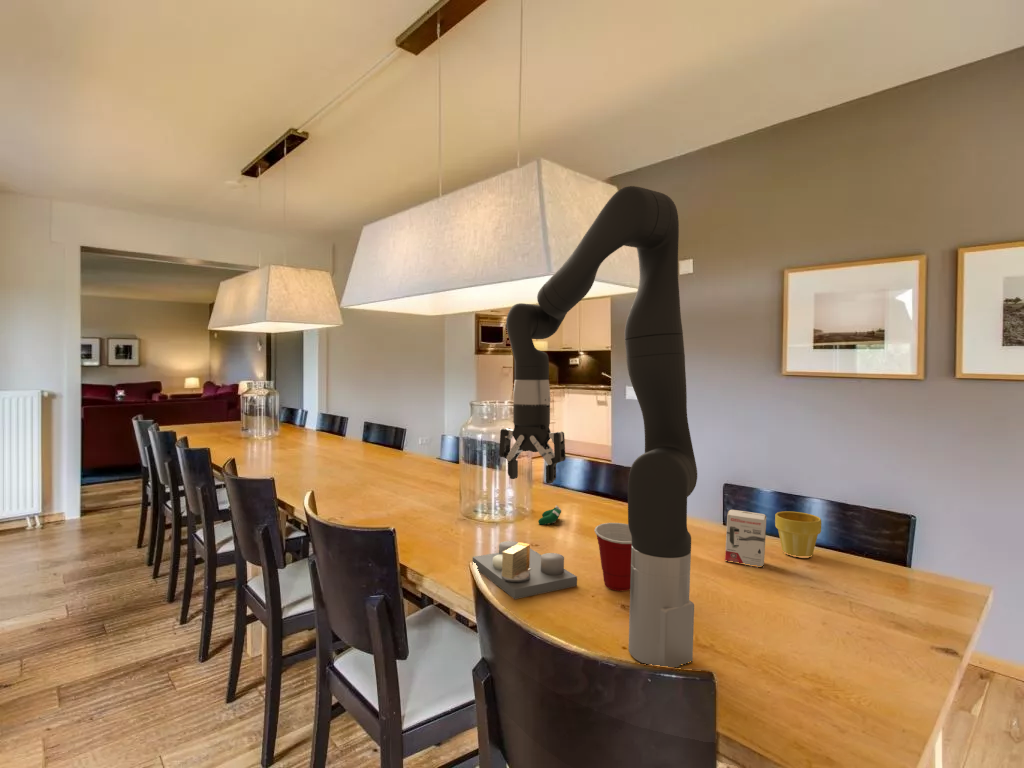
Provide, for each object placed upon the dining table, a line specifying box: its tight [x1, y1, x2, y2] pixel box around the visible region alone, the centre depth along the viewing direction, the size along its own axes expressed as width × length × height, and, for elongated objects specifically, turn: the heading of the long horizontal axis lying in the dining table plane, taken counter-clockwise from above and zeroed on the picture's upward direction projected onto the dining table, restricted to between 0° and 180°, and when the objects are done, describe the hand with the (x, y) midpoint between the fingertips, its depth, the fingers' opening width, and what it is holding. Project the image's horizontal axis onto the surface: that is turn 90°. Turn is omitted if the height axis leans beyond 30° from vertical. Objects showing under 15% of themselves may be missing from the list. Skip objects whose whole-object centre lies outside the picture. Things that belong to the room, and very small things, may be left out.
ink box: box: [724, 509, 767, 567], centre depth 130 cm, size 9×5×12 cm, turn 62°
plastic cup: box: [594, 522, 632, 592], centre depth 114 cm, size 11×11×12 cm
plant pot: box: [774, 510, 822, 556], centre depth 136 cm, size 10×10×10 cm
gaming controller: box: [538, 504, 562, 526], centre depth 161 cm, size 9×4×6 cm
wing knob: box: [501, 542, 531, 583], centre depth 112 cm, size 7×6×6 cm
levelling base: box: [472, 540, 578, 600], centre depth 119 cm, size 20×15×5 cm
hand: (531, 480), depth 111 cm, fingers open, 8 cm apart
